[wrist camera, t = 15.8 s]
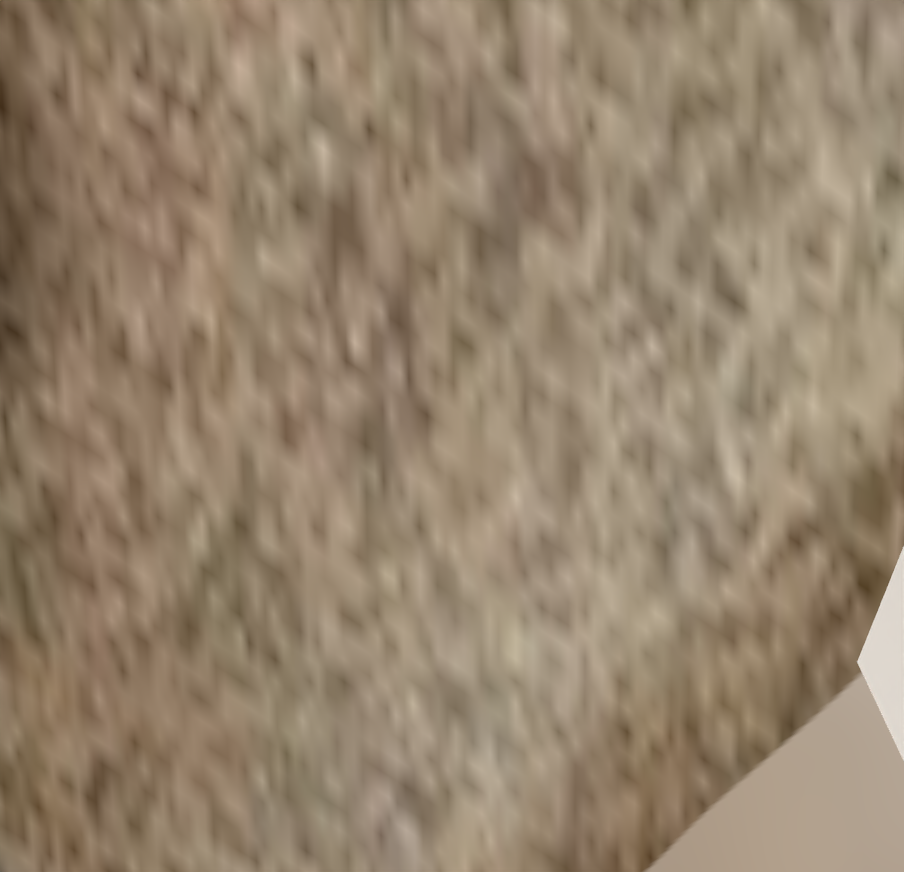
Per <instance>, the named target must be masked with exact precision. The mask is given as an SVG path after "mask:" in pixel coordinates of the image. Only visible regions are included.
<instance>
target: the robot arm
mask: <svg viewBox="0 0 904 872" xmlns="http://www.w3.org/2000/svg"><path fill="white" fill-rule="evenodd" d="M857 663H858V665H859V667H860V669H861V671H862V674H863V676H864V678H865V680H866V682H867V684H868V686H869V688H870V690H871V693H872V694H873V697H874V699H875V701H876V703H877V705H878V707H879V710H880V712H881V714H882V716H883V718H884V720H885V722H886V724H887V726H888V729H889V731H890V733H891V735H892V737H893V739H894V741H895V743H896V745H897V748H898V750H899V752H900V754H901V756H902V758H903V760H904V547H903V550H902V552H901V555H900V557H899V559H898V562H897V564H896V567H895V569H894V572H893V574H892V577H891V579H890V582H889V584H888V587H887V589H886V592H885V594H884V597H883V599H882V602H881V604H880V607H879V609H878V612H877V614H876V617H875V619H874V622H873V624H872V627H871V629H870V632H869V634H868V637H867V639H866V642H865V644H864V647H863V649H862V652H861V654H860V657H859V659H858V662H857Z"/></svg>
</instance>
